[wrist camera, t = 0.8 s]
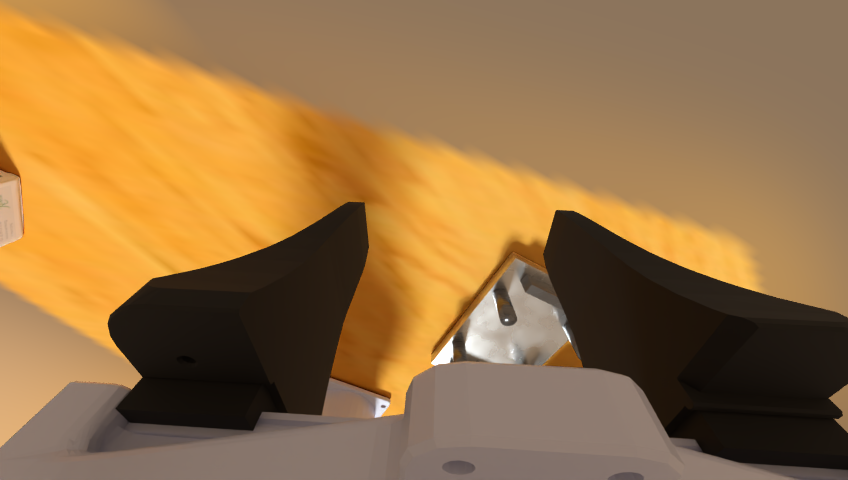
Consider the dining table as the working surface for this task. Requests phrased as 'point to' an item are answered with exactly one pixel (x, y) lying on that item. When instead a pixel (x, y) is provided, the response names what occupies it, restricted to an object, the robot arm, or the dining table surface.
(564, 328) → the pin tray
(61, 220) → the dining table surface
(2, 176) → the syrup box
